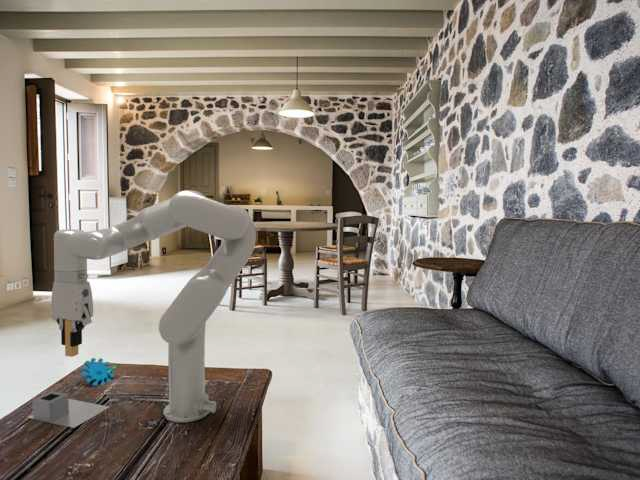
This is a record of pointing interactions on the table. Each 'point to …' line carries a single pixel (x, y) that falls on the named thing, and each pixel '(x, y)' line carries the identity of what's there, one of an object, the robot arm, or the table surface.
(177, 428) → the table surface
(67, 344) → the tan square peg
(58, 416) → the grey square socket base
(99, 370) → the blue spiky virus toy
